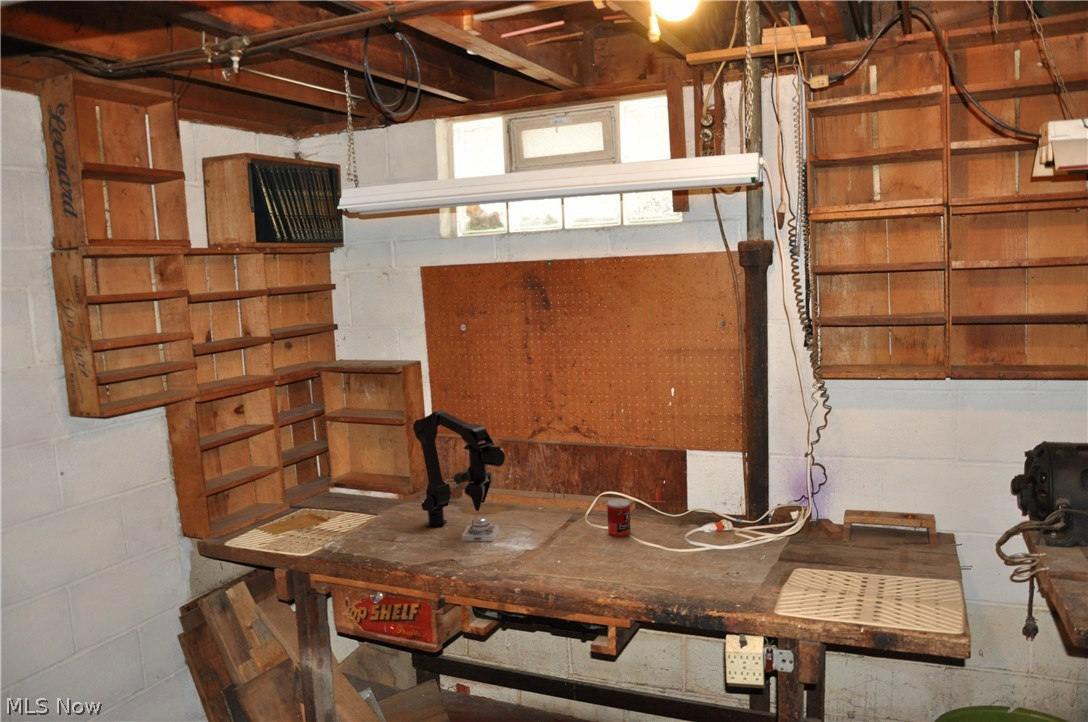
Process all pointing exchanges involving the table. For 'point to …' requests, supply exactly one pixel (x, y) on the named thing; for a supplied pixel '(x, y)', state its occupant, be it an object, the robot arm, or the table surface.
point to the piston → (480, 526)
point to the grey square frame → (480, 537)
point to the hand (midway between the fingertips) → (480, 506)
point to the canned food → (618, 517)
